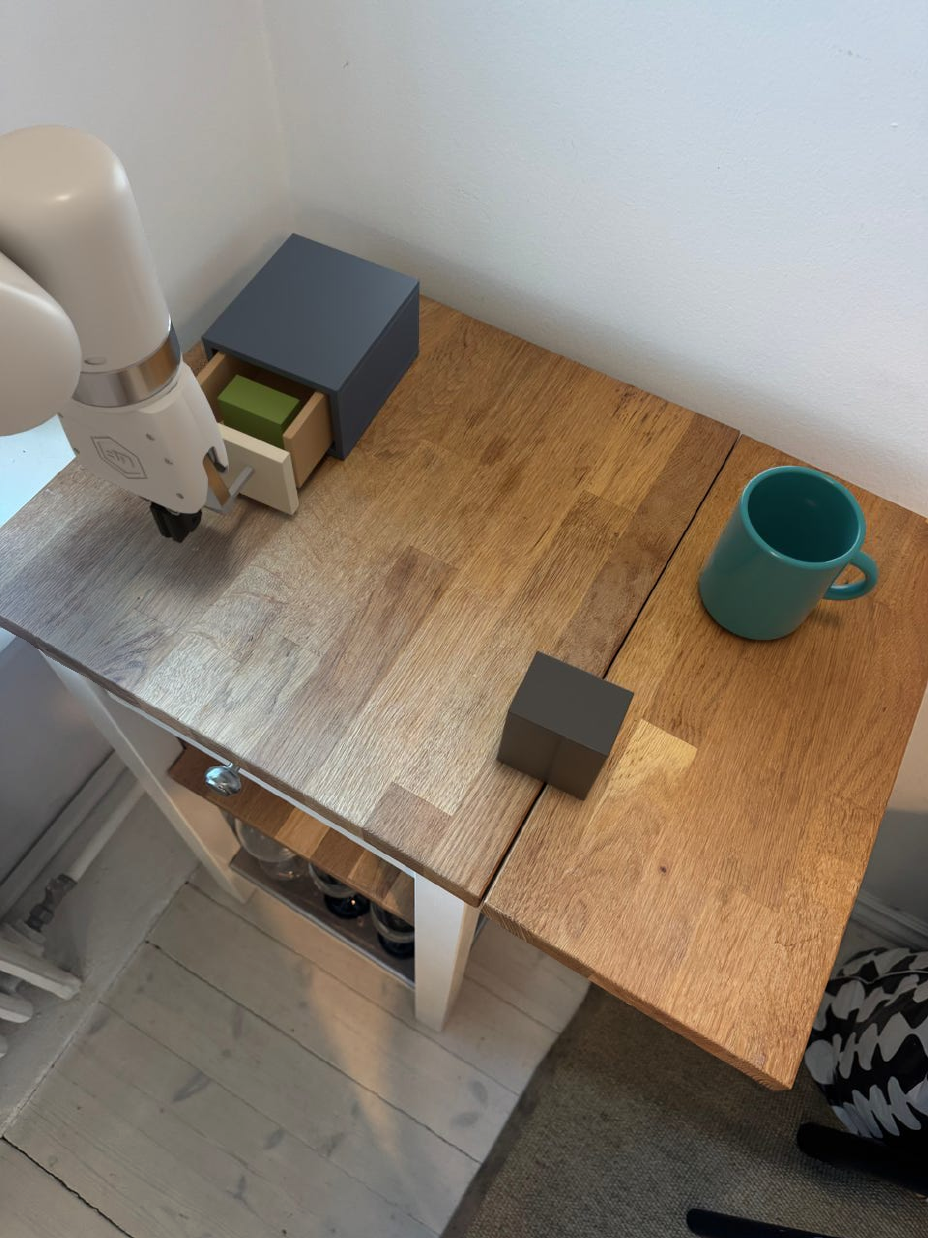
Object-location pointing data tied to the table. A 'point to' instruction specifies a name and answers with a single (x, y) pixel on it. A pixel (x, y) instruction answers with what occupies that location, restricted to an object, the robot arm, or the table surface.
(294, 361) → the cabinet
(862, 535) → the cup
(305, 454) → the drawer
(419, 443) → the table surface
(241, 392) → the olive green block
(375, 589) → the table surface
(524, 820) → the table surface
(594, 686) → the dark gray block
